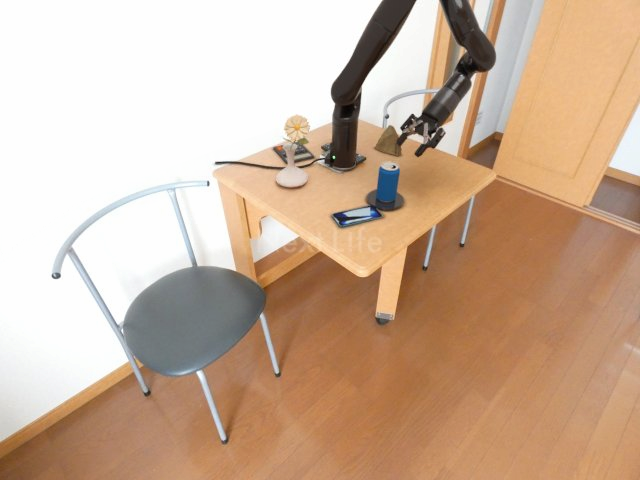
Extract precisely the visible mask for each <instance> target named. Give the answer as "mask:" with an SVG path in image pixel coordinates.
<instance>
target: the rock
mask: <svg viewBox="0 0 640 480" xmlns="http://www.w3.org/2000/svg"><path fill="white" fill-rule="evenodd" d="M399 137H400V135H399V134H398V132H397V130H396V128H395V127H394V126H393V125H391V124H389V125H388V126H387V127H386V129H384V131H383V133H382V134H381V135H380V136H379V138H378V140H377V142H376V144H375V146H374V149H375V150H378V151H380V152H382V153H385V154H389V155H393V156H396V157H397V156H401V155H402V145H401V146H398V145H397V144H396V142H397V139H398V138H399Z"/></svg>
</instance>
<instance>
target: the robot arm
mask: <svg viewBox="0 0 640 480" xmlns="http://www.w3.org/2000/svg"><path fill="white" fill-rule="evenodd" d="M417 1H418V0H381V2H380V3H379V4H378V6H377V7H376V9H375V11H374V12H373V14H372V15H371V17H370V19H369V20H368V22H367V24H366V26H365V28H364V29H363V32H362V33H361V36H360V37H359V39H358V41H357V43H356V45H355V47H354V50H353V52H352V54H351V56H350V58H349V60H348V62H347V63H346V64H345V66H344V67H343V69H342V71H340V73H339V75H338V76H337V77H336V79H335V80H333V82H332V84H331V86H330V96H331V97H330V98H331V101H332V102H333V103H334V107H333V111H332V115H331V116H332V117H331V142H330V143H329V152H327V154H326V156H324V157H320V158H319V157H318V158H316V159H314V160H312V161H311V162H310V163H307V164H303V165H295V166H296V167H298V168H300V169H302V168H307V167H309V166H312V165H314V164H315V163H316V162H319V161H324V162H323V163H324V165H329V167H330V168H333V169H334V170H336V171H340V172H348V171H352V170H354V169H355V168H356V166H357V146H358V145H357V144H358V133H359V132H358V131H359V130H358V129H359V117H360V113H361V108H362V107H361V105H362V94H363V93H362V92H363V85H364V83H365V81H366V79H367V78H368V76H369V74H370V73H371V71H372V70H373V69H374V68H375V67H376V65H377V64H378V63H379V62H380V61H381V59H382V58H383V57H384V55H386V53H387V52H388V50H389V49H390V48H391V46H392V45H393V43H395V40H396V38H397V37H398V35H399V34H400V32H401V30H402V29H403V27H404V25H405V23H407V20H408V18H409V17H410V15H411V12H412V10H413V9H414V6H415V4H416V3H417ZM438 2H439V4H440V7H441V9H442V10H441V11H442V13H443V16H444V19H445V22H446V24H447V26H448V29H449V31H450V34H451V36H452V38H453V40H454V42H455V44H456V45H457V46H458V47H461V48H462V49H465V50H466V51H465V52H464V53H463V54H462V55H461V56H460V58H459V60H458V61H457V63H456V65H455V67H454V69H453V71H452V74H451V76H449V78H448V79H447V80H446V82H444V84H443V85H442V86H441V88H439V90H438V91H436V93H435V94H434V95H433V97H432V98H431V99H430V101H428V103H427V104H426V105H425V107H424V108H423V109H422V112H421V115H420V116H418V117H417V116H416V115H415V114H414V113H411V114H410V115H409V116H408V118H406V120H405V121H404V122H403V123H402V124H401V125H400V127H399V130H401V134H400V135H399V138H398V139H397V142H396V144H397V145H398V146H401V147H402V146H403V145H404V143H405V142H406V141H407V139H408V138H409V137H410V136H412V135H413V136H414V135H419V136H421V137H422V138H423V141H422V143H421V144H420V145H419V146H418V147H417V148H416V149H415V151H414V153H413V154H414V156H415V157H416V158H420V157H421V156H423V155H424V153H425V152H426V151H427V149H433V150H434V149H436V148H437V146H438V145H439V143H440V142H441V141H442V139H443V138H444V137H445V135H446V134H447V132H446V130H445V129H444V128H443V127H442V126H443V125H444V124H445V123H446V121H447V120H449V118H450V117H451V115H452V114H453V113H454V112H455V110H456V109H457V108H458V106H459V104H460V103H461V101H462V100H463V99H464V98H465V97H466V95H467V94H468V93H469V92H470V90H471V89H472V86H473V83H472V78H473V76H474V75H475V74H483V73H488V72H490V71H491V70H492V69H494V67H495V65H496V63H497V51H496V48H495V47H494V45H493V43H492V42H491V40H490V39H489V38H488V36H487V35H486V33H485V32H484V31H483V30H482V29H481V27H480V25H479V22H478V19H477V17H476V14H475V11H474V10H473V7H472V6H471V3H470V1H469V0H438ZM433 134H434V135H433ZM214 163H215V164H217V165H218V164H237V165H238V164H240V165H246V166H252V167H258V168H259V167H260V168H265V169H273V170H274V169H275V170H283V169H284V168H286V167H287V166H273V165H271V166H270V165H263V164H258V163H251V162H245V161H244V162H243V161H233V160H230V161H229V160H225V161H224V160H223V161H222V160H221V161H215V162H214Z"/></svg>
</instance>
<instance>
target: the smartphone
mask: <svg viewBox="0 0 640 480" xmlns="http://www.w3.org/2000/svg"><path fill="white" fill-rule="evenodd" d="M331 218H332V219H333V220H334V222H335V223H336V224H337V226H338V227H339V228H340V229H345V228H348V227H353V226H355V225H360V224H364V223H368V222H372V221H376V220H380V219H383V218H384V215H383V213H381V211H380V210H378V209H376V208H374V207H372V206H371V205H369V204H368V205H365V206H361V207H355V208H352V209H347V210H342V211H337V212H333V213H331Z"/></svg>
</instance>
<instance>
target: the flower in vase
mask: <svg viewBox="0 0 640 480" xmlns="http://www.w3.org/2000/svg"><path fill="white" fill-rule="evenodd" d="M309 123H310V122H309V120H308V118H306V117H305V116H303V115H300V114H295V115H292V116H290V117H288V118H287V119H286V121H285V123H284V124H285V125H284V127H283V131H284V132H285V134H286V137H287V138H284V137H282V139H283V140H285V141H287V142H289V143H285V144H282V145H283V149H284V150H285V151H286V154H287V159H288V164H286V166H285V167H286V168H284V169H280V171H279V172H278V173H277V174H276V177H275V181H276V182H277V184H278V185H279V186H281V187H284V188H290V189H291V188H298V187H301V186H303V185H305V184H306V183H307V181H308V180H309V176H308V173H306V171H304V170H303V169H302V168H298V167H296V166H297V165H296V164H295V163H294V153H295V150H296V149H297V147H298V146H297V145H296V144H294V143H295V142H299V144H301V145H303V146H304V145H307V144H310V141H309V140H308V139H307V137H308V133H309V132H310V128H311V125H310V124H309ZM288 138H289V139H288ZM290 139H291V140H293V141H291V140H290Z"/></svg>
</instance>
